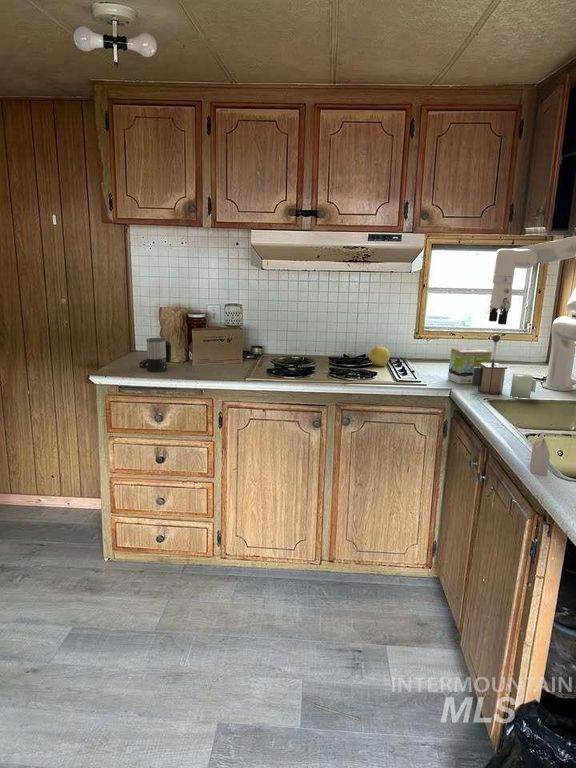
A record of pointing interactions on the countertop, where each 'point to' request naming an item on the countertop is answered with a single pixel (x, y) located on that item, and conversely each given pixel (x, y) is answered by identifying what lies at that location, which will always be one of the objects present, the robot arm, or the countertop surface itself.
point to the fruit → (379, 356)
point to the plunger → (495, 339)
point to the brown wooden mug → (489, 378)
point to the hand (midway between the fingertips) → (497, 322)
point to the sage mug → (522, 385)
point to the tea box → (466, 363)
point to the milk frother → (157, 355)
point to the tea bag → (540, 456)
